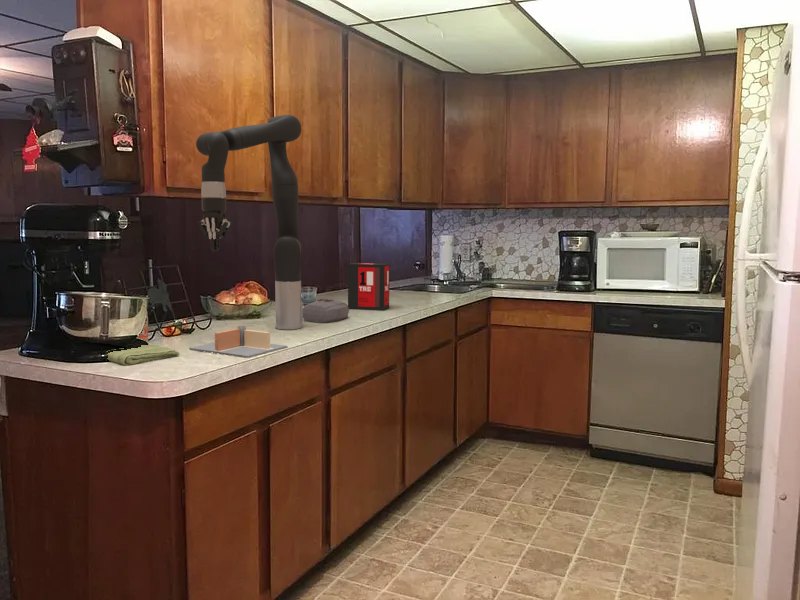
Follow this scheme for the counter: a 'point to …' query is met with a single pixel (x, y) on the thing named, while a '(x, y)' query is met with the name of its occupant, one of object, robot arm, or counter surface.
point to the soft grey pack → (325, 311)
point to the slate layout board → (245, 344)
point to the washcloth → (141, 354)
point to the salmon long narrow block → (227, 339)
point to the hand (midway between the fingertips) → (215, 250)
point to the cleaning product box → (368, 286)
